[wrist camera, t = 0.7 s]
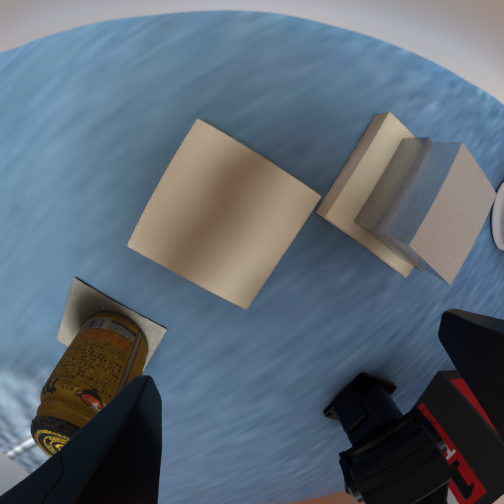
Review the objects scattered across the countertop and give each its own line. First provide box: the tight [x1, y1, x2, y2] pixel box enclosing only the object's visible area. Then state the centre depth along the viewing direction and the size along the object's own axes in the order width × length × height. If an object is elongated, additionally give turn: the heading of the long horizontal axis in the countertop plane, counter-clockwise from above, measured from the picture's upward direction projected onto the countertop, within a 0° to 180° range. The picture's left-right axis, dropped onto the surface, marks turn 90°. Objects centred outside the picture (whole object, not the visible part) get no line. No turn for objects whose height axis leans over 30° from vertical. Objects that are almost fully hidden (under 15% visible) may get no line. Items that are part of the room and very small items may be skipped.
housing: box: [353, 137, 497, 285], centre depth 16 cm, size 5×7×6 cm
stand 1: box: [127, 119, 321, 310], centre depth 18 cm, size 9×9×2 cm
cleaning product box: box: [411, 370, 504, 504], centre depth 22 cm, size 16×9×20 cm, turn 163°
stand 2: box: [315, 112, 416, 278], centre depth 19 cm, size 9×9×2 cm
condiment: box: [31, 278, 167, 457], centre depth 15 cm, size 7×8×12 cm
